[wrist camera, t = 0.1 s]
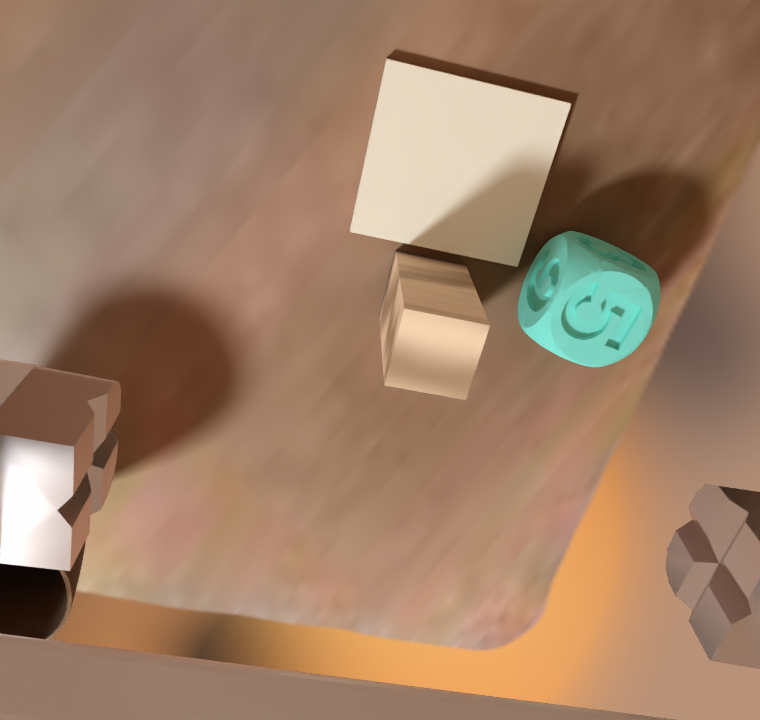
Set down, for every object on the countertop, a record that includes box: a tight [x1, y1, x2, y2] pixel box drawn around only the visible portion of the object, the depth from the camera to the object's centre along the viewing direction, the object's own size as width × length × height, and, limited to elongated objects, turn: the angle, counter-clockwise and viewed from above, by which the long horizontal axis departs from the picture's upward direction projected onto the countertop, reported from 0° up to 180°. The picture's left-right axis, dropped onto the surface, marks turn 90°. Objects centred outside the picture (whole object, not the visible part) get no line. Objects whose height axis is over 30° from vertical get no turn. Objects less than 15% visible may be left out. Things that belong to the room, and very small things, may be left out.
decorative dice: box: [518, 231, 660, 367], centre depth 57 cm, size 8×8×8 cm
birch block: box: [379, 250, 490, 400], centre depth 55 cm, size 6×6×12 cm
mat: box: [350, 58, 571, 267], centre depth 55 cm, size 13×14×1 cm
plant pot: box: [0, 540, 86, 640], centre depth 60 cm, size 15×15×16 cm
